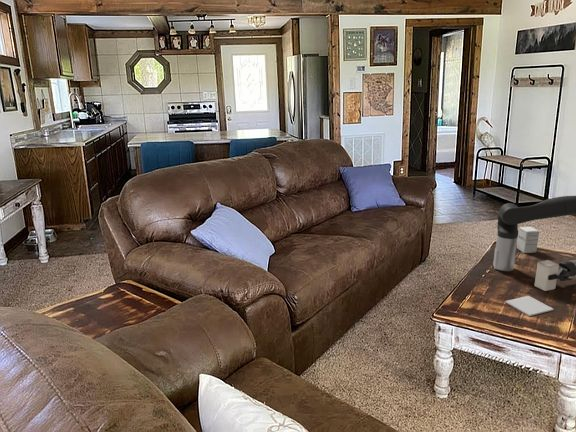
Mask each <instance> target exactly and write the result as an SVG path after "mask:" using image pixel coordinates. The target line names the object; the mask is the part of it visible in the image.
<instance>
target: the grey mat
mask: <svg viewBox="0 0 576 432" xmlns="http://www.w3.org/2000/svg"><path fill="white" fill-rule="evenodd" d="M504 303H506V304H507V305H510V306H511V307H513V308H515V309H516V310H517V311H519V312H521V313H523V314H524V315H526V316H528V317H531V316H536V315H539V314H543V313H548V312H553V311H554V308H553V307H551V306H549V305H547V304H545V303H543V302H542V301H539V300H537V299H535V298H534V297H532V296H530V295H525V296H521V297H517V298H516V297H515V298H513V299H508V300H505V301H504Z"/></svg>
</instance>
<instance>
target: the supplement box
mask: <svg viewBox="0 0 576 432" xmlns="http://www.w3.org/2000/svg"><path fill="white" fill-rule="evenodd" d="M539 236H540V230H538V229H536V228H534V227H532V226H521V227H519V228H518V239H517V247H516V250H517V249H518V250H519V251H521V252H522V253H524V254H530V253H531V254H532V253H537V249H538V243H539V238H540V237H539Z"/></svg>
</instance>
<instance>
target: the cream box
mask: <svg viewBox="0 0 576 432" xmlns="http://www.w3.org/2000/svg"><path fill="white" fill-rule="evenodd" d="M558 269H559V263H556V262H555V261H552V260H549V259H545V260H544V259H543V260H539V261H537V265H536V270H537V271H536V270H535V279H534V287H536V288H538V289H540V290H542V291H544V292H547V291H552V290H555V289H556V286H557V280H556V279H554V280H548V276H549V275H552V274H556V273H558Z"/></svg>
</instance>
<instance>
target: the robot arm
mask: <svg viewBox="0 0 576 432" xmlns="http://www.w3.org/2000/svg"><path fill="white" fill-rule="evenodd" d="M570 215H576V195H563V196H555V197H551V198H547V199H544V200H542V201H540V202H538V203H535V204H532V205H527V206H517V204H515V203H511V202H507V203H504V204H503V205H501V207H500V208H499V210H498V215H497V233H496V234H497V236H496V243H495V247H494V253H493V254H494V255H493V264H492V266H493V267H494V270H498V271H501V272H512V271H514V269H515V260H516V253H517V243H518V236H519V227H518V226H519V224H523V223H527V222H531V221H537V220H544V219H545V220H546V219H552V218H559V217H564V216H570ZM558 264H559V269H558V273H556V274H552V275H549V276H548V280H554V279H556V280H559V281H560V282H566V281H572V280H573V278H574V277H576V259H572V260H571V259H570V260H567V261H562V262H558ZM536 271H537V269H536V270H535V272H536Z"/></svg>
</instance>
